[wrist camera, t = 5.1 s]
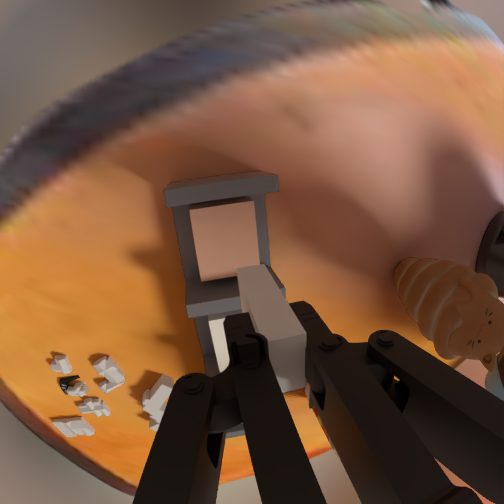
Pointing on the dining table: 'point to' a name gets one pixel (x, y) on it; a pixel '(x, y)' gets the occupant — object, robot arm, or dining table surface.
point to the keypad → (197, 293)
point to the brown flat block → (224, 236)
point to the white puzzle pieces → (114, 378)
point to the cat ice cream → (453, 308)
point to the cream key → (220, 337)
